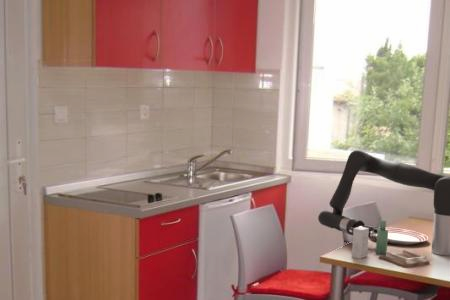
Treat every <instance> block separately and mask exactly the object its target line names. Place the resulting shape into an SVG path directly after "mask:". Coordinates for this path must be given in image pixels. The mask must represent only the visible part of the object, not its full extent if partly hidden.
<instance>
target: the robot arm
mask: <svg viewBox="0 0 450 300" xmlns="http://www.w3.org/2000/svg"><path fill="white" fill-rule="evenodd" d="M359 172H363V173H369V174H370V173H371V174H374V175H378V176H380V177H383V178H384V179H387V180H389V181H391V182H394V183H397V184H400V185H403V186H407V187H408V186H409V187H413V188H414V187H415V188H422V189H427V190H432V191H433V208H434V213H433V224H432V225H433V228H432V239H431V240H432V241H431V253H433V254H436V255H439V256H440V255H441V256H450V175H444V174H438V173H434V172H430V171H427V170H424V169H422V168H420V167H416V166H414V165H410V164H406V163H404V162H399V161H394V160H385V159H381V158H378V157H375V156H373V155H371V154H369V153H367V152H365V151H363V150H361V149H356V150H353V151H351V152H350V154H349V155H348V157H347V159H346V163H345V166H344V170H343V172H342V175H341V178H340V180H339V182H338V185H337V187H336V189H335V191H334V193H333V194H332V197H331V199H330V201H329V206H330V207H331V208H333V209H332V212H331V211H328V210H322V211H320V213H319V215H318V216H317V219H318V222H319V223H320V225H322V226H324V227H327V228H330V229H335V230H337V231H340V232H343V233H345V234H347V235H350V236H353V229H354V228H357V227H366V228H369V234H368V238H371V236H372V235H374V234H377V230H378V229H380V226H376V225H370V226H369V225H367V224H365V222H364V221H363V220H361V219H358V218H354V217H348V216H345V215H343V212H344V208H345V207H346V204H347V203H348V200H349V198H350V196H351V193H352V189H353V184H354V181H355V178H356V177H357V174H358V173H359ZM371 231H372V233H370V232H371Z"/></svg>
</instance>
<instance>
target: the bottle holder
mask: <svg viewBox="0 0 450 300" xmlns="http://www.w3.org/2000/svg"><path fill="white" fill-rule="evenodd" d="M378 259H380V260H383V261H386V262H388V263H391V264H392V265H397V266H399V267H402V268H410V267H419V266H424V265H425V266H426V265H430V263H431V261H429V260H427V256H424V255H421V254H418V253H416V252H415V253H414V252H412V251H409V250H406V249H403V250H402V252H400V253H392V252H390V251H387V252H386V255H378Z"/></svg>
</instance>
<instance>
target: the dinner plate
mask: <svg viewBox="0 0 450 300" xmlns="http://www.w3.org/2000/svg"><path fill="white" fill-rule="evenodd" d="M386 230H388V241H387V243H390V244H395V245H409V246H410V245H415V244H419V243H424V242H427V241H428V240H429V237H428V235H426V234H424V233H422V232H418V231H414V230H409V229H404V228H397V227H386ZM370 233H372V231H371V232H370ZM372 236H373V237H374V238H376V239H377V234H374V235H371V237H372Z"/></svg>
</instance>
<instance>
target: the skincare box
mask: <svg viewBox="0 0 450 300" xmlns="http://www.w3.org/2000/svg"><path fill="white" fill-rule="evenodd" d="M368 234H369V228H366V227H357V228H354V229H353V235H352V246H351V247H352V249H351V250H352V251H351V257H352V258H355V259H360V260H361V259H363V258H365V257H368V248H369V247H368V246H369V237H368Z"/></svg>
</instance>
